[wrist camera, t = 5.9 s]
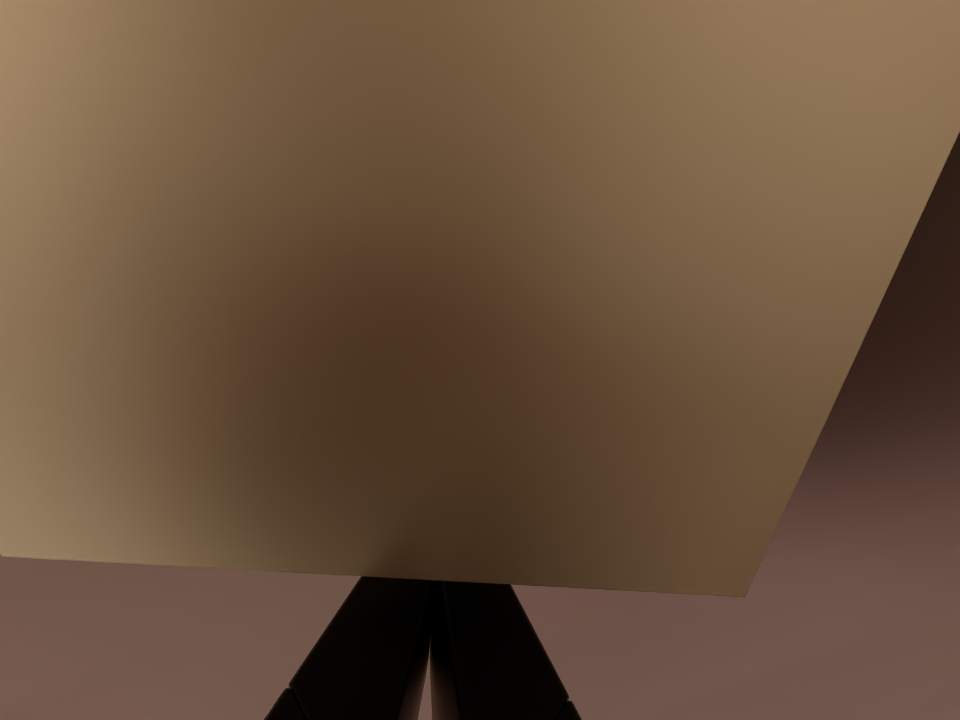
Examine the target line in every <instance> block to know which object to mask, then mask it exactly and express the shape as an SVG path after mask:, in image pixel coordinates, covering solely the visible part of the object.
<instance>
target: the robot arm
mask: <svg viewBox="0 0 960 720" xmlns="http://www.w3.org/2000/svg"><path fill="white" fill-rule="evenodd" d="M430 638H431V640H430ZM429 648H430V681H431V700H432V719H433V720H582V719H581V717H580V716H579V714H578V712H577V710H576V708H575V706H574V704H573V702H572V701H568V699H569V695H568V693H567V691H566V689H565V687H564V686H563V684H562V682H561V680H560V678H559V676H558V674H557V672H556V670H555V668H554V666H553V665H552V663H551V661H550V659H549V657H548V655H547V653H546V651H545V649H544V647H543V645H542V644H541V642H540V640H539V638H538V636H537V634H536V632H535V630H534V628H533V626H532V624H531V623H530V621H529V619H528V617H527V615H526V613H525V611H524V609H523V607H522V605H521V603H520V602H519V600H518V598H517V596H516V594H515V592H514V590H513V588H512V586H511V584H495V583H477V582H459V581H440V580H422V579H404V578H386V577H368V576H361V578H360V579H359V581H358V582H357V584H356V585H355V586H354V588H353V589H352V591H351V592H350V594H349V595H348V597H347V598H346V600H345V601H344V603H343V604H342V606H341V607H340V609H339V610H338V612H337V613H336V615H335V616H334V618H333V619H332V621H331V622H330V623H329V625H328V626H327V628H326V629H325V631H324V632H323V634H322V635H321V637H320V638H319V640H318V641H317V643H316V644H315V646H314V647H313V649H312V650H311V652H310V653H309V655H308V656H307V657H306V659H305V660H304V662H303V663H302V665H301V666H300V668H299V669H298V671H297V672H296V674H295V675H294V677H293V678H292V680H291V681H290V683H289V688H286V689H285V690H284V691H283V692H282V694H281V695H280V697H279V698H278V700H277V701H276V703H275V704H274V706H273V707H272V709H271V710H270V712H269V713H268V715H267V716H266V717H265V719H264V720H417V719H418V714H419V709H420V703H421V698H422V693H423V687H424V682H425V677H426V671H427V664H428V658H429Z"/></svg>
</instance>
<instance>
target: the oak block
mask: <svg viewBox="0 0 960 720" xmlns="http://www.w3.org/2000/svg"><path fill="white" fill-rule="evenodd" d="M959 132H960V0H0V553H1V556H4V557H23V558H41V559H59V560H77V561H95V562H113V563H132V564H150V565H168V566H186V567H204V568H222V569H241V570H259V571H277V572H295V573H313V574H331V575H350V576H368V577H386V578H404V579H422V580H440V581H459V582H477V583H495V584H513V585H531V586H549V587H568V588H586V589H604V590H622V591H640V592H658V593H677V594H695V595H713V596H731V597H745V595H746V593H747V591H748V589H749V587H750V584H751V582H752V580H753V578H754V576H755V574H756V571H757V569H758V567H759V565H760V563H761V561H762V558H763V556H764V554H765V552H766V550H767V548H768V546H769V543H770V541H771V539H772V537H773V535H774V533H775V530H776V528H777V526H778V524H779V522H780V520H781V517H782V515H783V513H784V511H785V509H786V507H787V504H788V502H789V500H790V498H791V496H792V494H793V491H794V489H795V487H796V485H797V483H798V481H799V478H800V476H801V474H802V472H803V470H804V468H805V465H806V463H807V461H808V459H809V457H810V455H811V452H812V450H813V448H814V446H815V444H816V442H817V439H818V437H819V435H820V433H821V431H822V429H823V426H824V424H825V422H826V420H827V418H828V416H829V413H830V411H831V409H832V407H833V405H834V403H835V400H836V398H837V396H838V394H839V392H840V390H841V387H842V385H843V383H844V381H845V379H846V377H847V374H848V372H849V370H850V368H851V366H852V364H853V361H854V359H855V357H856V355H857V353H858V351H859V348H860V346H861V344H862V342H863V340H864V338H865V335H866V333H867V331H868V329H869V327H870V325H871V322H872V320H873V318H874V316H875V314H876V312H877V309H878V307H879V305H880V303H881V301H882V299H883V297H884V294H885V292H886V290H887V288H888V286H889V284H890V281H891V279H892V277H893V275H894V273H895V271H896V268H897V266H898V264H899V262H900V260H901V258H902V255H903V253H904V251H905V249H906V247H907V245H908V242H909V240H910V238H911V236H912V234H913V232H914V229H915V227H916V225H917V223H918V221H919V219H920V216H921V214H922V212H923V210H924V208H925V206H926V203H927V201H928V199H929V197H930V195H931V193H932V190H933V188H934V186H935V184H936V182H937V180H938V177H939V175H940V173H941V171H942V169H943V167H944V164H945V162H946V160H947V158H948V156H949V154H950V151H951V149H952V147H953V145H954V143H955V141H956V138H957V136H958V134H959Z"/></svg>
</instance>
